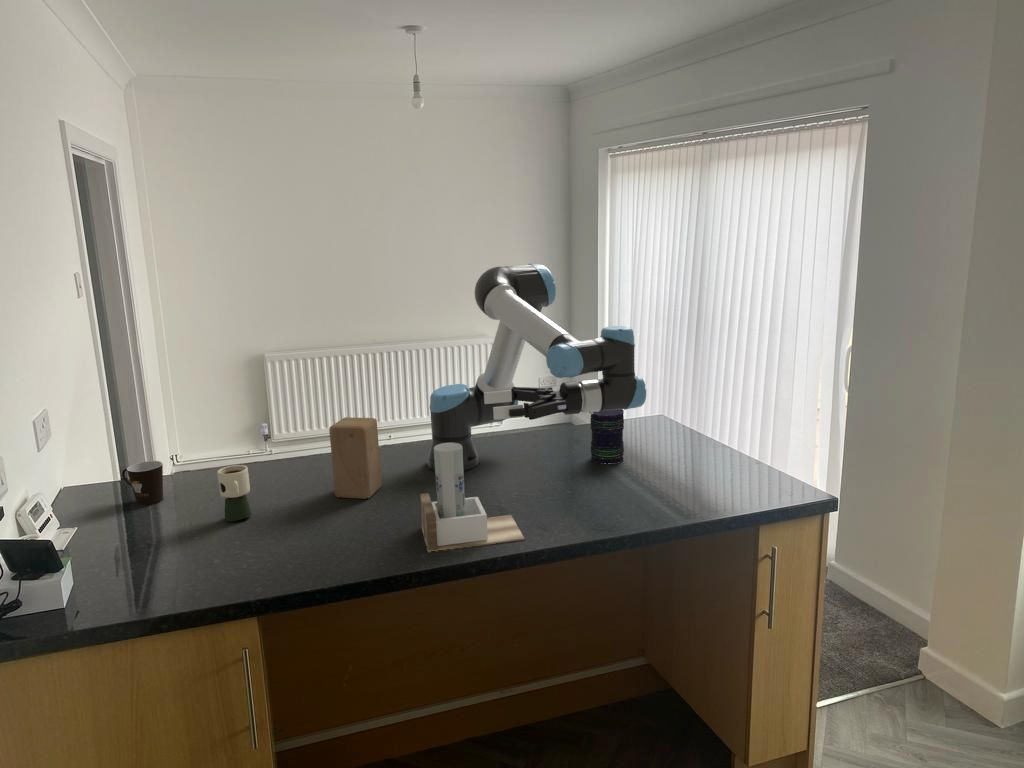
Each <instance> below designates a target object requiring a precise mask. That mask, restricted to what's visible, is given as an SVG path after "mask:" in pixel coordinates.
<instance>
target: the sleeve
mask: <svg viewBox="0 0 1024 768" xmlns="http://www.w3.org/2000/svg"><path fill="white" fill-rule="evenodd" d="M431 502H432V506H433V509H434V512H435V515H436V528H437V544H438V546H443V545H450V544H458V543H466V542H474V541H482V540H488V532H487V518H488V515H487V513H486V510H485V508H484V507H483V505H482V503H481V501H480V498H479V497H478V496H472V497H471V496H470V497H465V516H459V517H451V518H443V519H440V518H439V515H438V506H437V500H436V501H431Z"/></svg>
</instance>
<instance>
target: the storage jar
mask: <svg viewBox="0 0 1024 768" xmlns="http://www.w3.org/2000/svg"><path fill="white" fill-rule="evenodd" d="M624 412H625V410H624V409H622V410H608V411H598V412H593V414H590V430H591V441H590V454H591V457H590V459H592V460H593V461H594V462H598V463H603V464H604V463H606V464H608V463H618V462H621V461H622V460H623V459H624V455H625V454H624V452H625V447H624V446H625V444H624V439H623V437H624V429H625V426H624V424H625V419H624V417H625V416H624ZM592 460H591V461H592ZM593 461H592V462H593ZM623 461H624V460H623ZM623 461H622V462H623ZM594 462H593V463H594ZM622 462H621V463H622ZM603 464H602V465H603ZM618 464H619V463H618Z"/></svg>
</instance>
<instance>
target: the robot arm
mask: <svg viewBox="0 0 1024 768" xmlns="http://www.w3.org/2000/svg"><path fill="white" fill-rule="evenodd" d="M556 294H557V287H556V282H555V278H554V276H553V274H552V272H551V271H550V269H549V268H547V267H546V265H544V264H540V263H537V264H536V263H528V264H519V265H507V266H506V265H505V266H495V267H491V268H489V269H487V270H485V271H484V272H483V273H482V274H481V275H480V277H478V279H477V281H476V283H475V286H474V299H475V302H476V305H477V307H478V308H479V309H480V310H481V312H482V313H483V314H484V315H486V316H487V317H488V318H490V320H494V321H499V323H498V327H497V330H496V332H495V337H494V339H493V342H492V346H491V349H490V353H489V357H488V359H487V364H486V367H485V370H484V373H482V374H479V375H478V377H477V379H476V381H475V385H474V386H472V387H469V386H468V385H467V384H464V383H463V384H462V383H456V384H448V385H444V386H441V387H439V388H438V387H437V388H436V389H435V390H434V391H432V392H431V394H430V396H429V397H430V398H429V410H430V423H431V425H430V426H431V444H430V448H429V452H428V456H427V467H428V469H430V470H431V471H434V472H435V461H434V447H435V446H436V445H438V444H442V443H458V444H461V445H462V449H463V472H465V471H469V470H471V469H474V468H475V467H477V466H478V465H479V455H478V452H477V449H476V446H475V444H474V441H473V439H472V428H474V427H478V426H482V425H488V424H489V425H490V424H493V423H499V422H503V421H505V420H509V419H518V418H525V419H528V420H531V421H532V420H537V419H539V418H541V419H542V418H544V417H548V416H552V415H555V414H558V413H559V414H560V413H562V414H564V415H566V416H567V415H578V414H580V413H583V414H587V413H589V415H591V414H593V412H598V411H608V410H623V411H626V410H629V409H635V408H640V407H642V406H643V405H644V404H645V403H646V399H647V388H646V383H645V380H644V379H643V377H642V376H639V375H636V372H635V371H636V370H635V348H636V344H635V334H634V330H633V328H632V327H630V326H625V325H614V326H613V325H612V326H606V327H603V328H602V329H601V331H600V337H597V338H591V339H590V338H589V339H584V340H579V339H577V338H576V337H574V336H573V335H572V334H570V333H569V332H568V331H566V329H563V327H561V326H560V325H558V324H557V323H556V322H553V321H552V319H549V318H548V317H547V316H546V315H544V314H543V313H542V309H543V308H547V307H549V306H551V305H552V304H553V303H554V301H555V300H556V296H557V295H556ZM525 343H527V344H528V345H530V346H531V347H533V348H534V349H536V350H537V351H538V352H539V353H540V354H542V355H543V356H544V357H545V358H546V359H545V360H546V367H547V368H548V369H549V372H550V374H551V375H552V376H554V377H556V378H559V379H561V378H562V379H563V378H574V377H577V376H582V375H587V374H592V373H598V372H601V374H602V378H600V379H585V380H579V381H578V382H577V381H575V380H574V381H564V382H562V383H561V384H560V386H559V390H554V388H553V387H551V386H549V387H525V386H515V384H514V382H513V380H514V377H515V374H516V371H517V368H518V365H519V361H520V360H521V359H520V358H521V355H522V352H523V350H524V346H525ZM519 402H523V403H522V404H519ZM529 402H530V403H529Z"/></svg>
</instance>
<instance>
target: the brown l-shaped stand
mask: <svg viewBox="0 0 1024 768" xmlns="http://www.w3.org/2000/svg"><path fill="white" fill-rule="evenodd" d="M419 497H420V512H421V514H420V515H421V526H420V527H421V530H422V534H423V539H424V543H425V546H427V547H426V550H427V553H432V552H431V551H435V552H439V551H438V550H443V551H448V550H447V549H450V550H456V549H455V548H458V549H463V547H466V548H472V546H473V547H479V546H488V545H495V544H496V543H497V544H503V543H510V542H519V541H524V540H525V537H524V535H523V533H522V531H521V530H520V528H519V527H518V524H517V523H516V521H515V519H514V518H513V516H512V514H505V515H498V516H492V517H491V516H490V517H488V516H487V532H488V540H482V541H474V542H466V543H458V544H450V545H443V546H438V544H437V528H436V515H435V512H434V509H433V506H432V502H433V501H432V500H431V496H430V493H429V492H426V493H420V494H419Z"/></svg>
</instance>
